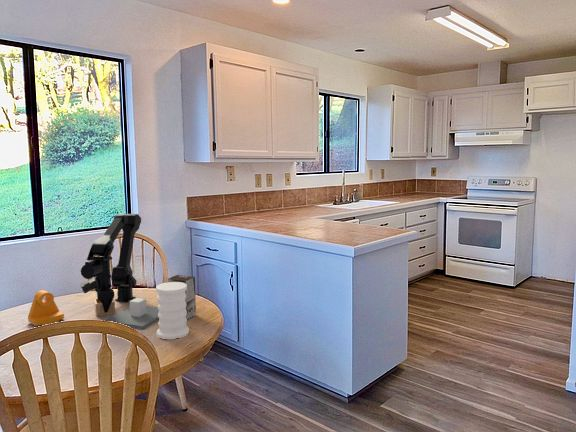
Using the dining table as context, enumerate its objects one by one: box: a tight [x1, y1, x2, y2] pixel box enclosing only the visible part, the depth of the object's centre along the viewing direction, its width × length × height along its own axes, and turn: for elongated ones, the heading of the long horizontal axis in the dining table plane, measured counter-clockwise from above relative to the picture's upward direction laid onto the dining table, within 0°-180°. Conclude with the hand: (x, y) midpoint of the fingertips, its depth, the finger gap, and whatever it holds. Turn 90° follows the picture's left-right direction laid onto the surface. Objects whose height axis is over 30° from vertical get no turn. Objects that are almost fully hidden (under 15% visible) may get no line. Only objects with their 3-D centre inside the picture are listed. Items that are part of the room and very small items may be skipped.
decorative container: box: [155, 281, 190, 340], centre depth 162 cm, size 12×12×18 cm
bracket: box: [27, 289, 65, 327], centre depth 174 cm, size 11×7×12 cm, turn 139°
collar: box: [93, 298, 116, 317], centre depth 185 cm, size 7×7×5 cm
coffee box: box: [167, 274, 197, 320], centre depth 180 cm, size 9×6×16 cm
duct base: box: [104, 297, 159, 330], centre depth 179 cm, size 20×18×7 cm
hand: (104, 308), depth 185 cm, fingers open, 9 cm apart
